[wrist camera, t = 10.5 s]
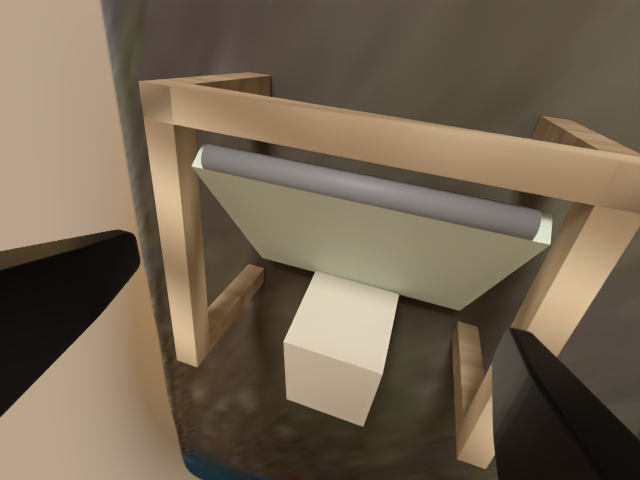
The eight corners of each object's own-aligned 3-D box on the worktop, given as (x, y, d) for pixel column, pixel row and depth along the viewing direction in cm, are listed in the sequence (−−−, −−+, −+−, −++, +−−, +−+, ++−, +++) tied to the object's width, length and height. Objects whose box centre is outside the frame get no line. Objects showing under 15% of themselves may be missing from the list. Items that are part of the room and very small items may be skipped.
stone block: (382, 374, 16) (363, 426, 21) (399, 293, 20) (379, 354, 25) (283, 341, 17) (286, 399, 22) (315, 270, 21) (312, 333, 26)
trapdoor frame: (249, 72, 18) (138, 81, 12) (570, 119, 15) (674, 170, 8) (248, 277, 25) (177, 359, 18) (471, 340, 22) (485, 469, 15)
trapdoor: (196, 135, 12) (184, 157, 12) (561, 207, 10) (559, 238, 10) (267, 243, 22) (262, 257, 22) (462, 293, 20) (459, 310, 19)
